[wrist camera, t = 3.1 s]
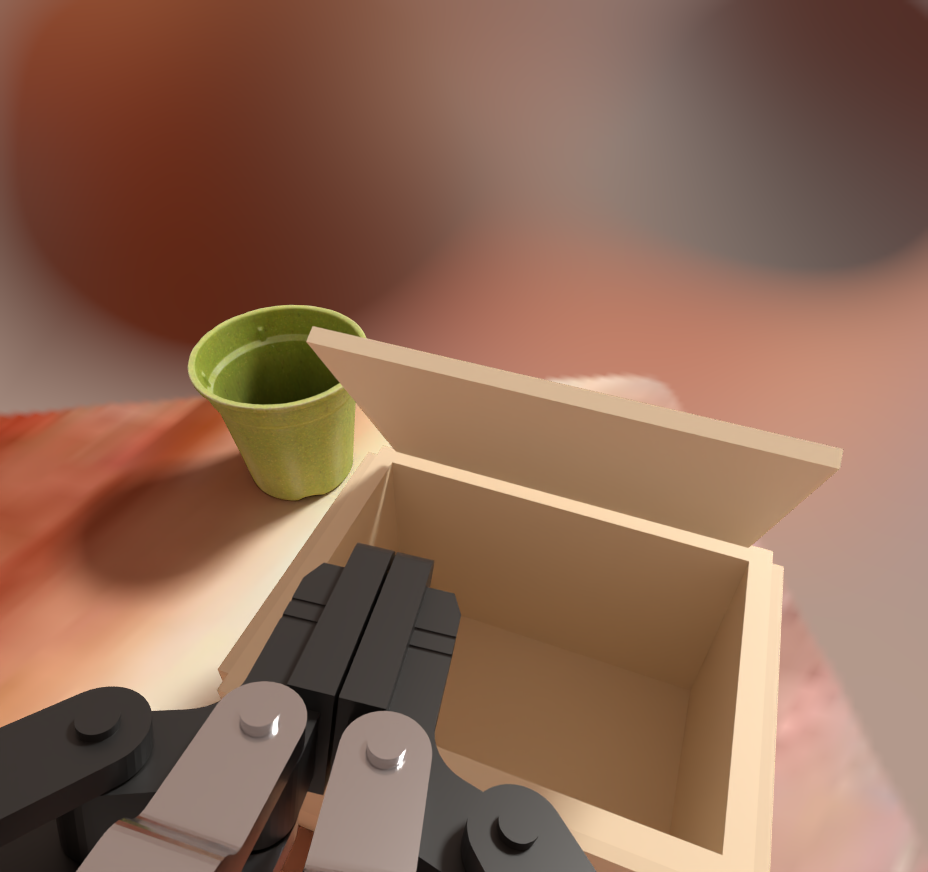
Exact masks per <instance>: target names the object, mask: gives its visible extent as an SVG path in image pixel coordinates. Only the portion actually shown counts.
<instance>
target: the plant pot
mask: <svg viewBox="0 0 928 872" xmlns="http://www.w3.org/2000/svg"><path fill="white" fill-rule="evenodd" d="M313 326H314V327H319V328H323V329H327V330H332V331H336V332H340V333H345V334H349V335H353V336H358V337H362V338H366V336H365V334H364V332H363V331H362V330H361V328H360V327H359V326H358V325H357V324H356V323H355V322H354V321H353V320H351V319H349V318H348V317H346V316H344V315H342V314H340V313H338V312H335V311H332V310H328V309H324V308H319V307H314V306H306V305H304V306H300V305H285V306H274V307H268V308H261V309H258V310H254V311H250V312H247V313H245V314H242V315H239V316H236V317H234V318H231V319H229V320H227V321H225V322H223V323H221V324H219V325H218V326H216V327H215V328H214V329H213V330H211V331H209V332H208V333H207V334H206V335H204V337H202V338H201V340H200V341H199V342H198V343H197V344H196V346H195V347H194V348H193V350H192V352H191V354H190V357H189V361H188V374H189V377H190V380H191V382H192V384H193V385H194V387H195V389H196V390H197V391H198V392H199V393H200V394H201V395H202V396H203V397H204V398H206V399H207V400H209V401H210V403H211V404H212V405H213V406H214V408H215V409H216V410H217V411H218V412H220V414H221V416H222V418H223V420H224V422H225V423H226V425H227V427H228V429H229V431H230V433H231V435H232V437H233V439H234V441H235V443H236V445H237V447H238V449H239V451H240V453H241V455H242V457H243V459H244V461H245V463H246V466H247V468H248V469H249V471H250V473H251V475H252V477H253V479H254V481H255V483H256V484H257V486H258V487H259V488H260V489H261V490H262V491H264V492H265V493H267V494H268V495H271V496H273V497H276V498H279V499H284V500H299V499H301V498H304V497H307V496H311V495H318V494H321V495H322V494H326V493H328V492H329V491H331V490H333V489H334V488H336V487H337V486H338V485H339V484H341V483H342V482H343V481H344V479H345V478H346V477H347V475H348V474H349V472H350V470H351V467H352V463H353V444H354V422H355V403H356V402H355V401H354V400H353V398H352V397H351V396H350V395H349V393H348V392H347V391H346V390H345V389H344V387H343V386H342V385H341V384H340V382H339V381H338V380H337V379H336V377H335V376H334V375H333V374H332V373H331V371H330V370H329V369H328V368H327V366H326V365H325V364H324V363H323V362H322V360H321V359H320V358H319V357H318V355H317V354H316V353H315V352H314V351H313V349H312V348H311V347H310V346H309V344H308V343H307V342H306V341H307V339H308V336H309V334H310V331H311V329H312V327H313ZM366 339H367V338H366Z"/></svg>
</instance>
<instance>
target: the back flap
mask: <svg viewBox="0 0 928 872" xmlns="http://www.w3.org/2000/svg"><path fill="white" fill-rule="evenodd" d="M306 342H307V343H308V344H309V346H310V347H311V348H312V349H313V351H314V352H315V353H316V354H317V355H318V357H319V358H320V359H321V360H322V362H323V363H324V364H325V365H326V366H327V368H328V369H329V370H330V371H331V373H332V374H333V375H334V376H335V377H336V379H337V380H338V381H339V382H340V384H341V385H342V386H343V387H344V389H345V390H346V391H347V392H348V393H349V395H350V396H351V397H352V398H353V400H354V401H355V402H356V403H357V404H358V406H359V407H360V408H361V409H362V411H363V412H364V413H365V414H366V415H367V417H368V418H369V419H370V420H371V422H372V423H373V424H374V425H375V427H376V428H377V429H378V430H379V431H380V433H381V434H382V435H383V436H384V438H385V439H386V440H387V441H388V442H389V444H390V445H391V446H392V447H393V449H394V450H395V451H396V452H399V453H402V454H406V455H410V456H413V457H417V458H421V459H424V460H428V461H432V462H435V463H439V464H443V465H446V466H450V467H453V468H457V469H461V470H464V471H468V472H472V473H475V474H479V475H483V476H486V477H490V478H494V479H497V480H501V481H505V482H508V483H512V484H516V485H519V486H523V487H527V488H530V489H534V490H538V491H541V492H545V493H549V494H552V495H556V496H560V497H563V498H567V499H571V500H574V501H578V502H582V503H585V504H589V505H593V506H596V507H600V508H604V509H607V510H611V511H615V512H618V513H622V514H625V515H629V516H633V517H636V518H640V519H644V520H647V521H651V522H655V523H658V524H662V525H666V526H669V527H673V528H677V529H680V530H684V531H688V532H691V533H695V534H699V535H702V536H706V537H710V538H713V539H717V540H721V541H724V542H728V543H732V544H735V545H739V546H743V547H746V548H749V547H750V546H752V545H753V544H754V543H755V542H756V541H757V540H758V539H760V538H761V537H762V536H763V535H764V534H765V533H766V532H768V531H769V530H770V529H771V528H772V527H773V526H775V525H776V524H777V523H778V522H779V521H780V520H781V519H783V518H784V517H785V516H786V515H787V514H788V513H790V512H791V511H792V510H793V509H794V508H795V507H797V506H798V505H799V504H800V503H801V502H802V501H803V500H805V499H806V498H807V497H808V496H809V495H810V494H812V493H813V492H814V491H815V490H816V489H817V488H818V487H819V486H821V485H822V484H823V483H824V482H825V481H827V480H828V479H829V478H830V477H831V476H832V475H833V474H835V473H836V472H837V471H838V470H839V469H840V465H841V459H842V454H843V449H840V448H836V447H832V446H827V445H823V444H819V443H815V442H811V441H806V440H801V439H797V438H793V437H789V436H785V435H780V434H776V433H772V432H767V431H763V430H758V429H755V428H750V427H746V426H742V425H737V424H733V423H729V422H724V421H720V420H716V419H711V418H707V417H703V416H698V415H693V414H690V413H685V412H681V411H677V410H673V409H668V408H664V407H660V406H655V405H651V404H647V403H642V402H638V401H634V400H629V399H625V398H621V397H616V396H612V395H608V394H604V393H599V392H595V391H591V390H586V389H582V388H578V387H573V386H569V385H565V384H560V383H556V382H552V381H547V380H543V379H539V378H534V377H530V376H526V375H521V374H517V373H513V372H509V371H504V370H500V369H496V368H491V367H487V366H483V365H478V364H474V363H470V362H465V361H461V360H457V359H452V358H448V357H443V356H440V355H435V354H431V353H427V352H422V351H418V350H414V349H409V348H405V347H401V346H396V345H392V344H388V343H383V342H379V341H375V340H371V339H366V338H362V337H358V336H353V335H349V334H345V333H340V332H336V331H332V330H327V329H323V328H319V327H314V326H313V327H312V329H311V331H310V334H309V336H308V339H307V341H306Z"/></svg>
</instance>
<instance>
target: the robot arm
mask: <svg viewBox="0 0 928 872" xmlns="http://www.w3.org/2000/svg"><path fill="white" fill-rule="evenodd" d="M433 568H434V560H430V559H426V558H422V557H417V556H413V555H409V554H405V553H400V552H397V553H396V555H395V551H392V550H388V549H384V548H380V547H375V546H371V545H367V544H362V543H357V544H356V546H355V547H354V549H353V551H352V553H351V555H350V557H349V560H348V562H347V564H346V566H345V567H341V566H337V565H332V564H328V563H322V564H321V565H320V566H318V567H317V568H315V569H314V570H313V571H311V572H310V573H309V574H307V575H306V576H304V577H303V579H302V581H301V582H300V584H299V586H298V588H297V589H296V591H295V593H294V595H293V597H292V600H291V601H290V602H289V604H288V605H287V607H286V609H285V611H284V612H283V616H282V618H280V620H279V621H278V623H277V625H276V627H275V628H274V630H273V632H272V634H271V636H270V637H269V639H268V641H267V643H266V644H265V646H264V648H263V650H262V651H261V653H260V655H259V657H258V659H257V660H256V662H255V664H254V666H253V667H252V669H251V671H250V673H249V674H248V676H247V678H246V679H245V681H244V682H243V684H242V685H241V686H240V687H238V688H236V689H234V690H232V691H231V692H229V693H228V694H227V695H225V696H224V697H223V698H222V699H221V700H220V701H219V702H217V703H215V704H212V705H209V706H206V707H201V708H197V709H188V710H165V711H151V708H150V706H149V703H148V702H147V701H146V699H145V698H144V697H143V696H142V695H140V694H139V693H137V692H135V691H133V690H131V689H127V688H123V687H101V688H96V689H92V690H89V691H86V692H83V693H80V694H78V695H76V696H73V697H71V698H69V699H66V700H64V701H62V702H59V703H57V704H55V705H52V706H50V707H48V708H45V709H43V710H41V711H38V712H36V713H34V714H31V715H29V716H27V717H24V718H22V719H20V720H17V721H15V722H13V723H10V724H8V725H6V726H3V727H1V728H0V872H280V871H281V869H282V867H283V865H284V863H285V861H286V859H287V856H288V854H289V852H290V850H291V848H292V846H293V844H294V841H295V838H296V835H297V829H298V818H299V812H300V810H301V807H302V804H303V802H304V799H305V797H306V794H307V792H311V793H315V794H319V795H324V792H325V789H326V787H327V789H326V792H325V796H324V799H323V803H322V807H321V810H320V814H319V817H318V821H317V825H316V828H315V832H314V835H313V839H312V843H311V846H310V850H309V853H308V857H307V860H306V864H305V867H304V869H303V872H597V871H596V870H595V868H594V867H593V865H592V864H591V862H590V861H589V859H588V858H587V856H586V855H585V853H584V852H583V850H582V849H581V847H580V846H579V844H578V843H577V841H576V839H575V838H574V836H573V835H572V833H571V832H570V830H569V829H568V827H567V826H566V824H565V823H564V821H563V820H562V818H561V817H560V815H559V814H558V812H557V811H556V809H555V808H554V807H553V805H552V804H551V803H550V802H549V801H548V800H547V799H546V798H544V797H543V796H542V795H540V794H539V793H537V792H535V791H534V790H532V789H530V788H527V787H524V786H520V785H515V784H503V785H497V786H494V787H491V788H489V789H487V790H485V791H484V792H483V791H481V790H479V789H478V788H476V787H474V786H473V785H471V784H470V783H468V782H466V781H465V780H463V779H462V778H460V777H459V776H457V775H456V774H455V773H454V772H453V771H452V770H451V769H450V768H449V767H448V766H447V765H446V763H445V762H444V761H443V759H442V757H441V756H440V754H439V751H438V749H437V746H436V742H435V729H436V725H437V721H438V716H439V712H440V708H441V703H442V699H443V695H444V690H445V686H446V682H447V678H448V673H449V669H450V664H451V659H452V655H453V650H454V646H455V641H456V636H457V632H458V627H459V623H460V618H461V613H460V610H459V606H458V603H457V600H456V596H455V594H454V593H450V592H446V591H442V590H437V589H433V588H430V584H431V579H432V574H433ZM327 784H328V785H327Z"/></svg>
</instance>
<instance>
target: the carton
mask: <svg viewBox="0 0 928 872" xmlns="http://www.w3.org/2000/svg"><path fill="white" fill-rule="evenodd" d="M357 543H362V544H367V545H371V546H375V547H380V548H384V549H388V550H392V551H395V555H396V553H397V552H400V553H405V554H409V555H413V556H417V557H422V558H426V559H430V560H434V568H433V574H432V579H431V584H430V588H433V589H437V590H442V591H446V592H450V593H454V594H455V596H456V600H457V603H458V606H459V610H460V613H461V618H460V623H459V627H458V632H457V636H456V641H455V646H454V650H453V655H452V659H451V664H450V669H449V673H448V678H447V682H446V686H445V690H444V695H443V699H442V703H441V708H440V712H439V716H438V721H437V725H436V729H435V742H436V746H437V749H438V751H439V754H440V756H441V757H442V759H443V761H444V762H445V763H446V765H447V766H448V767H449V768H450V769H451V770H452V771H453V772H454V773H455V774H456V775H457V776H459V777H460V778H462V779H463V780H465V781H466V782H468V783H470V784H471V785H473V786H474V787H476V788H478V789H479V790H481V791H483V792H484V791H485V790H487V789H489V788H491V787H494V786H497V785H503V784H515V785H520V786H524V787H527V788H530V789H532V790H534V791H535V792H537V793H539V794H540V795H542V796H543V797H544V798H546V799H547V800H548V801H549V802H550V803H551V804H552V805H553V807H554V808H555V809H556V811H557V812H558V814H559V815H560V817H561V818H562V820H563V821H564V823H565V824H566V826H567V827H568V829H569V830H570V832H571V833H572V835H573V836H574V838H575V839H576V841H577V843H578V844H579V846H580V847H581V849H582V850H583V852H584V853H585V855H586V856H587V858H588V859H589V861H590V862H591V864H592V865H593V867H594V868H595V870H596V871H597V872H770V861H771V838H772V816H773V794H774V771H775V749H776V727H777V705H778V682H779V660H780V638H781V615H782V593H783V571H784V567H783V566H779V565H776V564H772V559H773V551H769V550H766V549H762V548H759V547H755V546H750V547H749V548H746V547H743V546H739V545H735V544H732V543H728V542H724V541H721V540H717V539H713V538H710V537H706V536H702V535H699V534H695V533H691V532H688V531H684V530H680V529H677V528H673V527H669V526H666V525H662V524H658V523H655V522H651V521H647V520H644V519H640V518H636V517H633V516H629V515H625V514H622V513H618V512H615V511H611V510H607V509H604V508H600V507H596V506H593V505H589V504H585V503H582V502H578V501H574V500H571V499H567V498H563V497H560V496H556V495H552V494H549V493H545V492H541V491H538V490H534V489H530V488H527V487H523V486H519V485H516V484H512V483H508V482H505V481H501V480H497V479H494V478H490V477H486V476H483V475H479V474H475V473H472V472H468V471H464V470H461V469H457V468H453V467H450V466H446V465H443V464H439V463H435V462H432V461H428V460H424V459H421V458H417V457H413V456H410V455H406V454H402V453H399V452H396V451H395V450H394V449H393V448H391V447H387V446H384V445H383V446H382V448H381V449H380V451H379V452H378V454H374V453H370V452H368V453H367V455H366V456H365V458H364V459H363V461H362V462H361V464H360V465H359V466H358V468H357V469H356V471H355V472H354V474H353V475H352V476H351V478H350V479H349V481H348V482H347V484H346V485H345V487H344V488H343V489H342V491H341V492H340V494H339V495H338V497H337V498H336V500H335V501H334V502H333V504H332V505H331V507H330V508H329V510H328V511H327V513H326V514H325V515H324V517H323V518H322V520H321V521H320V523H319V524H318V525H317V527H316V528H315V530H314V531H313V533H312V534H311V536H310V537H309V538H308V540H307V541H306V543H305V544H304V546H303V547H302V549H301V550H300V551H299V553H298V554H297V556H296V557H295V559H294V560H293V562H292V563H291V564H290V566H289V567H288V569H287V570H286V572H285V573H284V574H283V576H282V577H281V579H280V580H279V582H278V583H277V585H276V586H275V587H274V589H273V590H272V592H271V593H270V595H269V596H268V598H267V599H266V600H265V602H264V603H263V605H262V606H261V608H260V609H259V611H258V612H257V613H256V615H255V616H254V618H253V619H252V621H251V622H250V623H249V625H248V626H247V628H246V629H245V631H244V632H243V634H242V635H241V636H240V638H239V639H238V641H237V642H236V644H235V645H234V647H233V648H232V649H231V651H230V652H229V654H228V655H227V657H226V658H225V660H224V661H223V662H222V664H221V665H220V667H219V668H218V671H219V673H220V676H221V678H222V680H223V682H222V684H221V685H220V687H219V688H218V693H219V695H220V697H221V699H222V698H223V697H224V696H225V695H227V694H228V693H229V692H231V691H232V690H234V689H236V688H238V687H240V686H241V685H242V684H243V682H244V681H245V679H246V678H247V676H248V674H249V673H250V671H251V669H252V667H253V666H254V664H255V662H256V660H257V659H258V657H259V655H260V653H261V651H262V650H263V648H264V646H265V644H266V643H267V641H268V639H269V637H270V636H271V634H272V632H273V630H274V628H275V627H276V625H277V623H278V621H279V620H280V618H282V616H283V612H284V611H285V609H286V607H287V605H288V604H289V602H290V601H291V600H292V597H293V595H294V593H295V591H296V589H297V588H298V586H299V584H300V582H301V581H302V579H303V577H304V576H306V575H307V574H309V573H310V572H311V571H313V570H314V569H315V568H317V567H318V566H320V565H321V564H322V563H328V564H332V565H337V566H341V567H345V566H346V564H347V562H348V560H349V557H350V555H351V553H352V551H353V549H354V547H355V546H356V544H357ZM327 785H328V784H327ZM326 789H327V787H326ZM326 789H325V792H326ZM325 792H324V795H319V794H315V793H311V792H307V794H306V797H305V799H304V802H303V804H302V807H301V810H300V812H299V818H298V825H299V826H302V827H304V828H306V829H309V830H311V831H313V832H315V828H316V825H317V821H318V817H319V814H320V810H321V807H322V803H323V799H324V796H325Z"/></svg>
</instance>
